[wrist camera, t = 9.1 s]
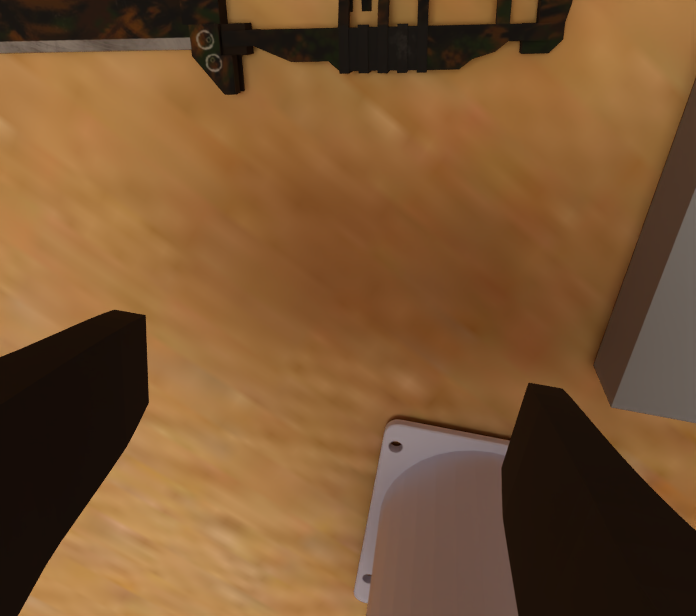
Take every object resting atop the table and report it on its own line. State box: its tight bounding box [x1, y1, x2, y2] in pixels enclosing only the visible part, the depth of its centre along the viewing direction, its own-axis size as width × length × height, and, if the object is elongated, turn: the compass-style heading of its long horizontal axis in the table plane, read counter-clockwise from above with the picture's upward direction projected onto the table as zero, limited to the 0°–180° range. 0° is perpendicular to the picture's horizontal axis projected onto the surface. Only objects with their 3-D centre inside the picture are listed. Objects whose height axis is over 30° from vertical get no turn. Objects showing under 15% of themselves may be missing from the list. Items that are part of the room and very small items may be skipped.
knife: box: [0, 0, 572, 95], centre depth 18 cm, size 25×6×1 cm, turn 86°
